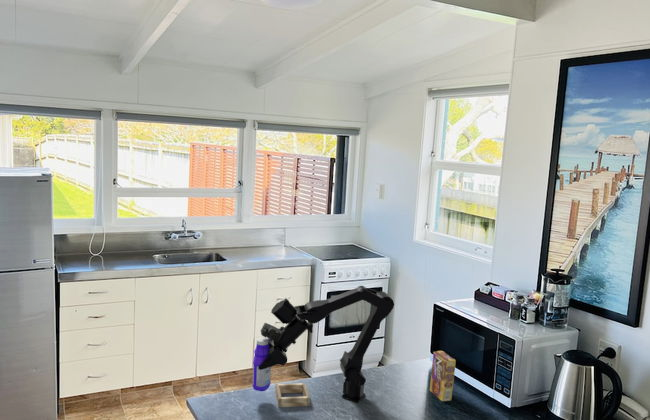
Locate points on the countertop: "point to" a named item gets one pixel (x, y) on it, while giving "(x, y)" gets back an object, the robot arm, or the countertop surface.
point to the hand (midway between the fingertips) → (258, 364)
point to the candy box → (442, 375)
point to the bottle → (259, 376)
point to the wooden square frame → (292, 400)
